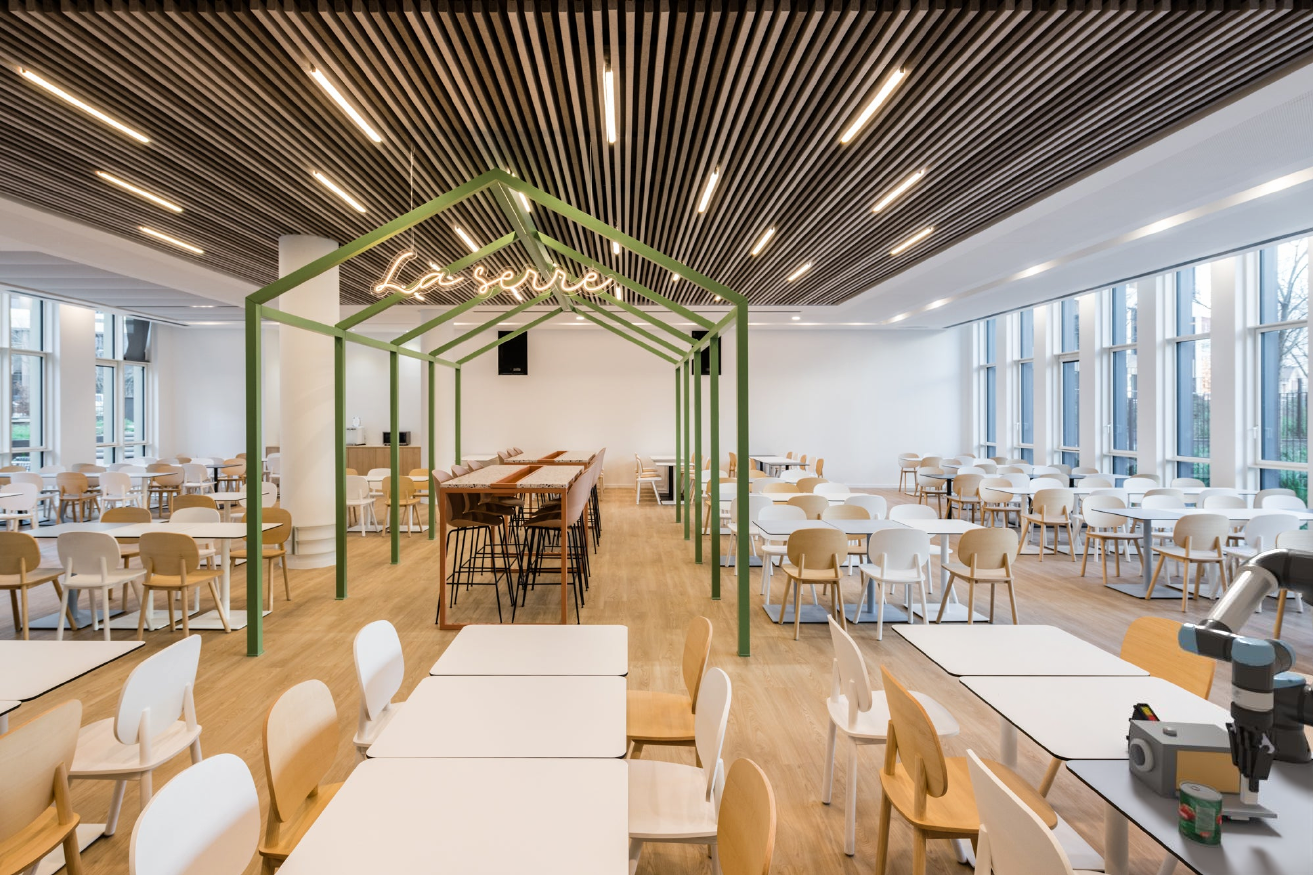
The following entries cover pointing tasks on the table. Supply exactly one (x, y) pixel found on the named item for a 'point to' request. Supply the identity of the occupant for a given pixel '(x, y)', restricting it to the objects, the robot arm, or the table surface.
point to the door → (1241, 808)
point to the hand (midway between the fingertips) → (1248, 802)
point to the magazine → (1142, 715)
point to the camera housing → (1182, 756)
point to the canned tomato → (1200, 814)
